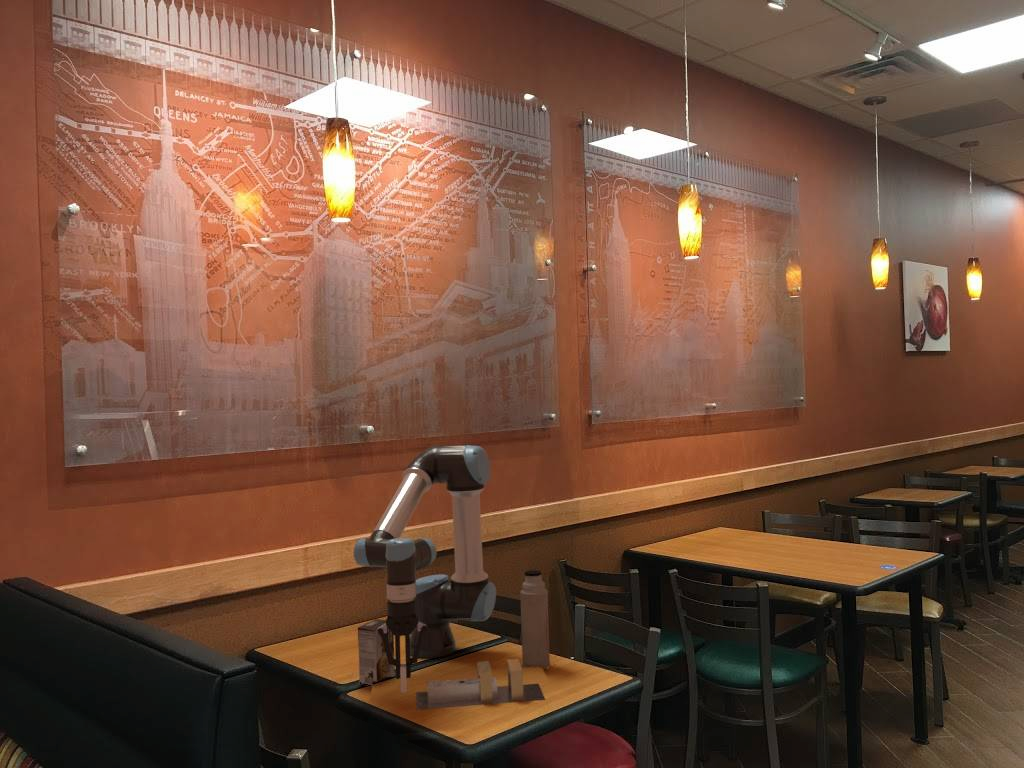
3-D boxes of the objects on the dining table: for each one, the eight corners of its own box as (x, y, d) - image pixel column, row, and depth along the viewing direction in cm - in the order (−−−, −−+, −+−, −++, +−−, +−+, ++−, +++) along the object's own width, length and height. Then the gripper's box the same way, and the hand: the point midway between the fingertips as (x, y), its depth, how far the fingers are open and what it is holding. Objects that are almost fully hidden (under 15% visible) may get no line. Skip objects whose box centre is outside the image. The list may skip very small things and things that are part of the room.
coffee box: (377, 674, 243) (375, 618, 243) (395, 676, 240) (394, 620, 240) (358, 684, 234) (356, 627, 235) (377, 687, 232) (375, 629, 232)
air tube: (427, 697, 219) (427, 681, 219) (495, 692, 221) (495, 676, 221) (428, 702, 215) (427, 686, 215) (497, 697, 217) (496, 681, 217)
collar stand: (416, 698, 223) (415, 664, 223) (538, 689, 226) (537, 655, 226) (416, 715, 211) (415, 679, 211) (545, 705, 215) (544, 670, 215)
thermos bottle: (551, 662, 248) (548, 568, 248) (547, 672, 240) (544, 574, 240) (525, 661, 249) (522, 568, 249) (520, 671, 241) (517, 574, 242)
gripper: (375, 604, 212) (377, 697, 212) (427, 601, 213) (429, 693, 213) (376, 597, 219) (378, 687, 219) (426, 594, 221) (428, 684, 220)
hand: (403, 690), depth 216 cm, fingers closed
